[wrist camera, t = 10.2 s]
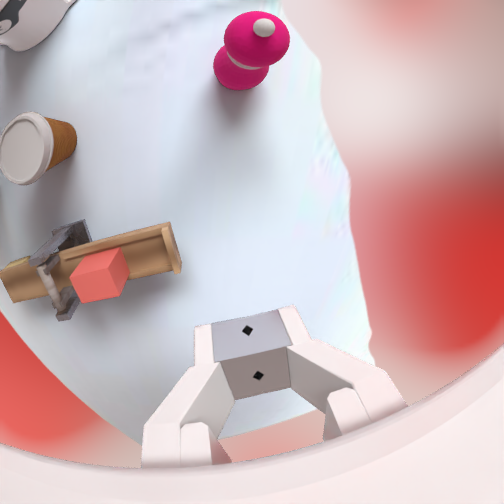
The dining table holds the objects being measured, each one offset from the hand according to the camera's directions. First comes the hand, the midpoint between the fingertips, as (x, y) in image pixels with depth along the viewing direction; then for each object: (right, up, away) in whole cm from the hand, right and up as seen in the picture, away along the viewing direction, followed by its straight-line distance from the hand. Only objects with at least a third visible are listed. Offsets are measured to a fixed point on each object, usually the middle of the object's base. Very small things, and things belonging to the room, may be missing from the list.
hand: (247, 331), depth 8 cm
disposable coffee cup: (-30, +20, +25) cm, 44 cm away
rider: (-20, +1, +27) cm, 34 cm away
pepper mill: (-2, +29, +26) cm, 38 cm away
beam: (-27, +1, +30) cm, 41 cm away
